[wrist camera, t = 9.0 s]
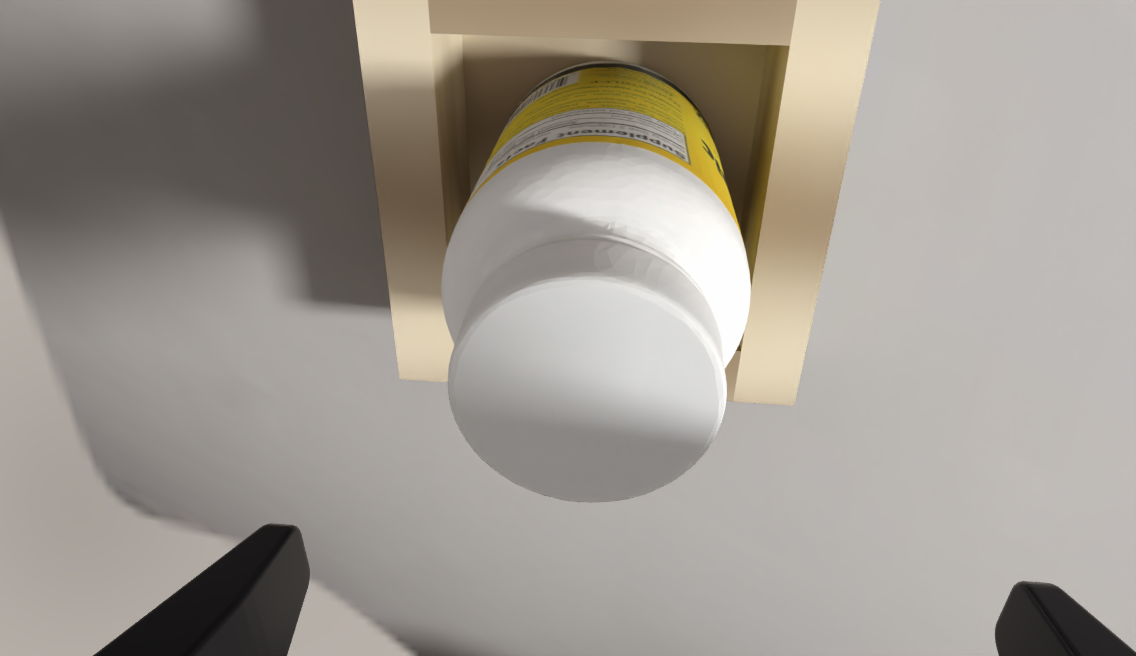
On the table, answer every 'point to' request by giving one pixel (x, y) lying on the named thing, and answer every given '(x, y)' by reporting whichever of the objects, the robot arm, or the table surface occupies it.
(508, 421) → the supplement bottle
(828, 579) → the table surface
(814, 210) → the square holder
